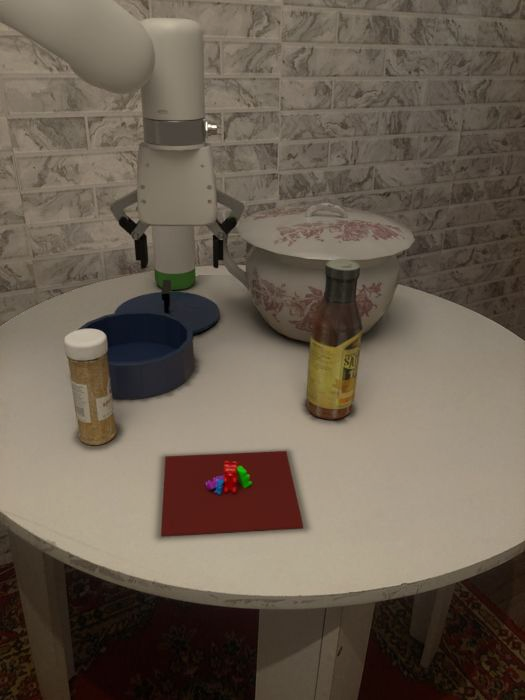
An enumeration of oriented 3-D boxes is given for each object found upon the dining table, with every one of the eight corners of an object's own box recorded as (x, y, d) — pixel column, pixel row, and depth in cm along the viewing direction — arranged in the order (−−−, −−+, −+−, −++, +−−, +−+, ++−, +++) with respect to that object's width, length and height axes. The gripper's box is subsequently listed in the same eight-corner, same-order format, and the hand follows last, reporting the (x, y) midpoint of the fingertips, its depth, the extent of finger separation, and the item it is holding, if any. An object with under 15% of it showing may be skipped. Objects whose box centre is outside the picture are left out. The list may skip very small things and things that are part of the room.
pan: (66, 401, 78) (61, 366, 76) (86, 342, 93) (82, 312, 90) (193, 397, 80) (192, 362, 77) (193, 340, 94) (192, 309, 92)
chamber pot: (435, 337, 98) (458, 212, 88) (303, 383, 84) (313, 241, 74) (325, 282, 118) (334, 175, 108) (204, 312, 104) (201, 193, 94)
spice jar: (120, 441, 71) (110, 341, 65) (81, 450, 69) (67, 348, 63) (112, 420, 75) (101, 324, 68) (75, 429, 73) (60, 330, 66)
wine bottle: (156, 293, 111) (145, 121, 96) (154, 277, 117) (143, 115, 103) (197, 290, 112) (193, 121, 98) (193, 275, 119) (188, 115, 104)
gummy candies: (203, 495, 63) (202, 469, 61) (206, 478, 65) (206, 452, 63) (251, 497, 63) (251, 471, 61) (252, 480, 65) (253, 455, 63)
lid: (109, 342, 93) (105, 309, 90) (120, 297, 108) (117, 268, 106) (221, 339, 95) (221, 307, 92) (217, 296, 110) (217, 267, 107)
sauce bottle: (347, 426, 75) (364, 278, 65) (299, 416, 77) (309, 270, 67) (357, 399, 80) (374, 259, 71) (312, 390, 82) (323, 253, 73)
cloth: (161, 536, 58) (161, 534, 58) (165, 458, 68) (165, 456, 68) (303, 528, 59) (303, 525, 59) (286, 452, 70) (286, 450, 70)
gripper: (243, 129, 77) (242, 255, 85) (107, 127, 76) (119, 256, 84) (246, 139, 70) (245, 274, 79) (97, 137, 69) (112, 275, 77)
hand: (180, 265), depth 81 cm, fingers open, 9 cm apart
